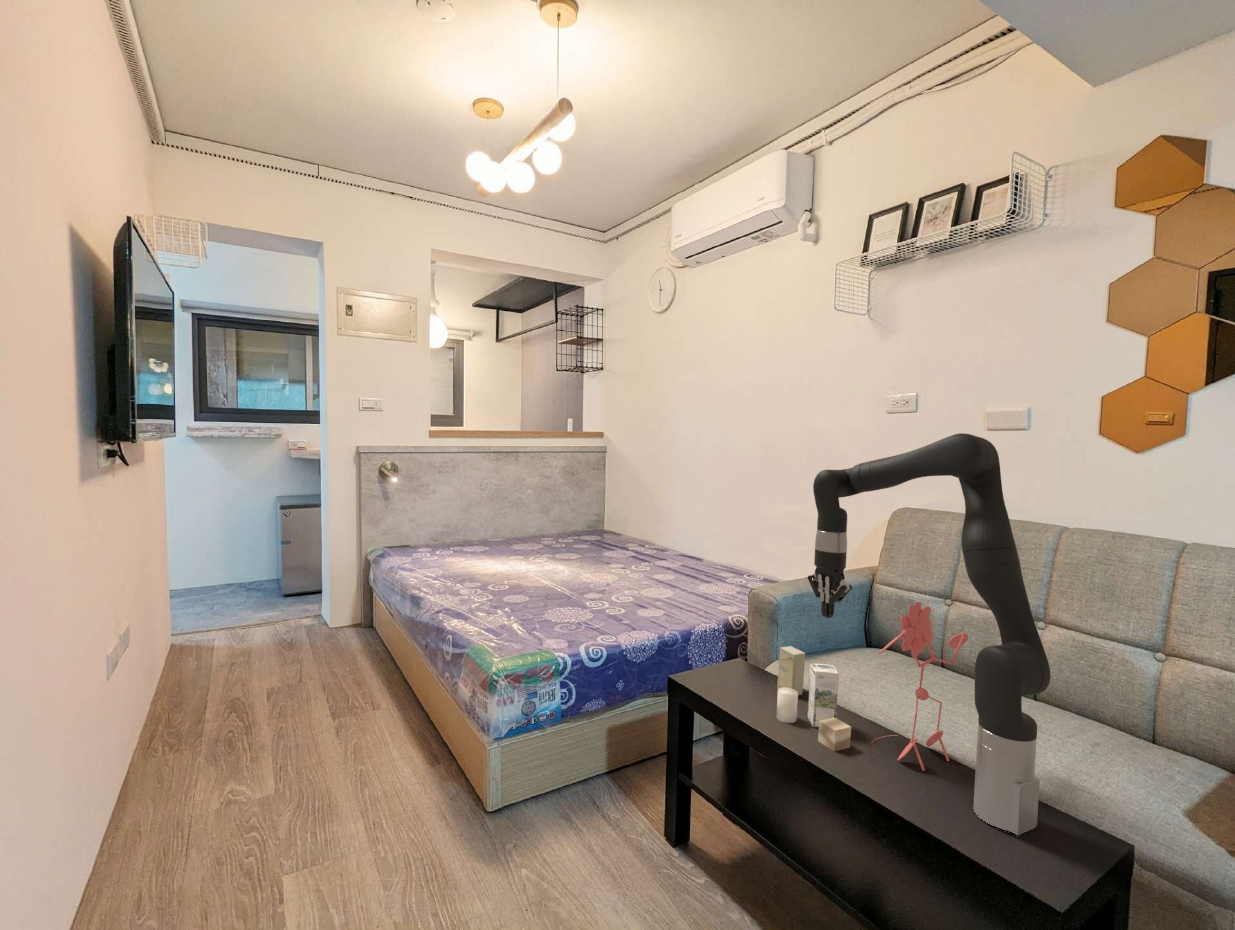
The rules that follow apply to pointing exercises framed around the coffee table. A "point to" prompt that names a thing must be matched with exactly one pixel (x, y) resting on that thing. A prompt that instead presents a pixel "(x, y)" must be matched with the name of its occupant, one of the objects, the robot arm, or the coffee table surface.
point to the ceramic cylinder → (787, 705)
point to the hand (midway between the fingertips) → (827, 616)
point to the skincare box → (791, 669)
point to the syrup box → (822, 693)
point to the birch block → (834, 734)
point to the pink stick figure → (914, 639)
